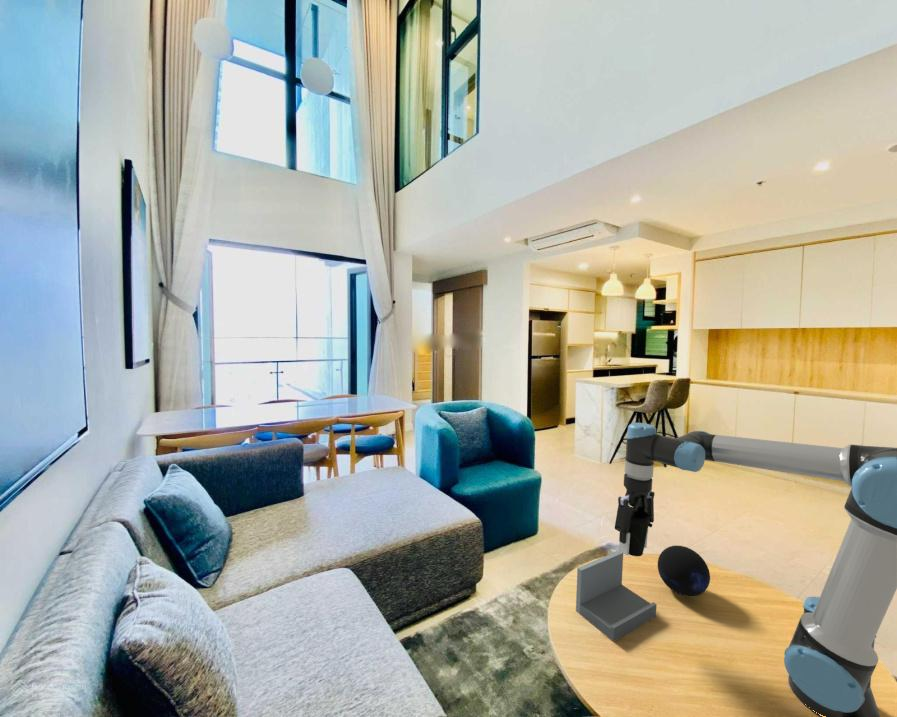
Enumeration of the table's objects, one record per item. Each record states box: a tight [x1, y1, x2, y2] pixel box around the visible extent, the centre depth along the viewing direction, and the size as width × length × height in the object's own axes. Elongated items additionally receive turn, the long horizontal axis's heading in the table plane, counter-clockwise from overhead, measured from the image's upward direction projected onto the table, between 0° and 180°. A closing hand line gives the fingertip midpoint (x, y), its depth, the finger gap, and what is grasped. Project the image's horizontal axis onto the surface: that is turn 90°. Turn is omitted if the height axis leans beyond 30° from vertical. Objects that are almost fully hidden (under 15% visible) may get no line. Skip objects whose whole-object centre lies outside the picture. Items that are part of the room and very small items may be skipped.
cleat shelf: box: [575, 550, 657, 642], centre depth 116 cm, size 14×20×14 cm
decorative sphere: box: [657, 545, 711, 597], centre depth 127 cm, size 15×15×15 cm
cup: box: [628, 506, 650, 557], centre depth 113 cm, size 8×8×12 cm
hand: (632, 548), depth 113 cm, fingers closed on cup, 8 cm apart
